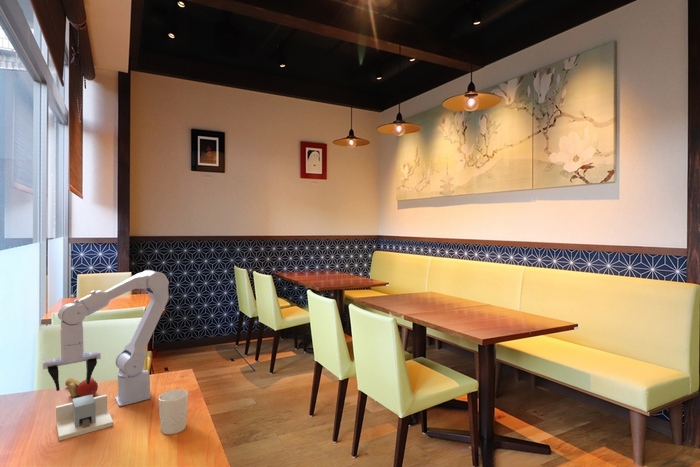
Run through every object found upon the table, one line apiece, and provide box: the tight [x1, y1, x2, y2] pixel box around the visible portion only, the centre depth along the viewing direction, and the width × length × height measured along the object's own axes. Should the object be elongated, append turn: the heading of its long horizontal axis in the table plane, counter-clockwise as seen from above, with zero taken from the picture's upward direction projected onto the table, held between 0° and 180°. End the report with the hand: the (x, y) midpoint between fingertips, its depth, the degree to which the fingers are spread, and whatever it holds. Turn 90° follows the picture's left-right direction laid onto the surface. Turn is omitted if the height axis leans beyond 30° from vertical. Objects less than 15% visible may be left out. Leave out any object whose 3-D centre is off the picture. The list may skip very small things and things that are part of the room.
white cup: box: [157, 388, 189, 435], centre depth 117 cm, size 8×8×10 cm
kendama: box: [65, 376, 99, 398], centre depth 141 cm, size 8×6×18 cm
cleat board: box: [55, 394, 114, 441], centre depth 119 cm, size 13×12×5 cm
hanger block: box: [72, 395, 96, 428], centre depth 119 cm, size 5×7×6 cm
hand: (73, 386), depth 123 cm, fingers open, 7 cm apart
